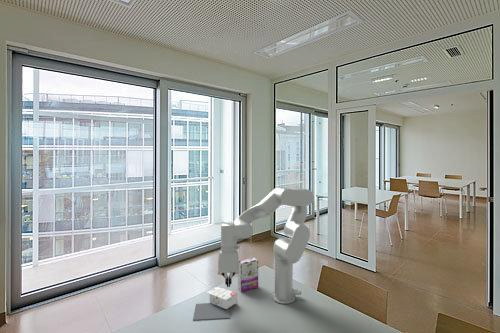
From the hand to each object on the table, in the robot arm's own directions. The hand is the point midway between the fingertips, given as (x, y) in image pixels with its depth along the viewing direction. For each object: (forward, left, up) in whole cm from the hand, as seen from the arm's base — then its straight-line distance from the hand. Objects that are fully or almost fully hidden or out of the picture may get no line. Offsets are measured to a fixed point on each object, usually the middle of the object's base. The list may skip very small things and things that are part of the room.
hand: (228, 285), depth 125 cm
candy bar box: (-12, -21, -13) cm, 27 cm away
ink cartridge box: (-2, -2, -9) cm, 9 cm away
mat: (+8, 0, -12) cm, 15 cm away
